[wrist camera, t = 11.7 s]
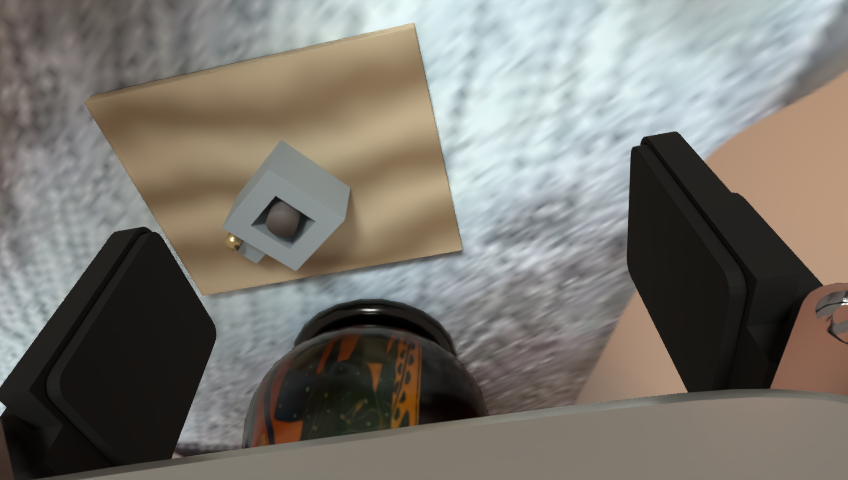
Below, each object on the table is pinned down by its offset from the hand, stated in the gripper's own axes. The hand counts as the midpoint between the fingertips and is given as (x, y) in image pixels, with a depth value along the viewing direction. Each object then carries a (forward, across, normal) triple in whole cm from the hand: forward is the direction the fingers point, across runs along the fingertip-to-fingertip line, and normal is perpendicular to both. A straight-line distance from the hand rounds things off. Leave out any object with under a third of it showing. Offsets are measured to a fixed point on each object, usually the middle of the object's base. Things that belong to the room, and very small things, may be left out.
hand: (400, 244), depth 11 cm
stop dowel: (+29, +17, +16) cm, 37 cm away
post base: (+30, +12, +14) cm, 35 cm away
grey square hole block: (+29, +13, +15) cm, 35 cm away
